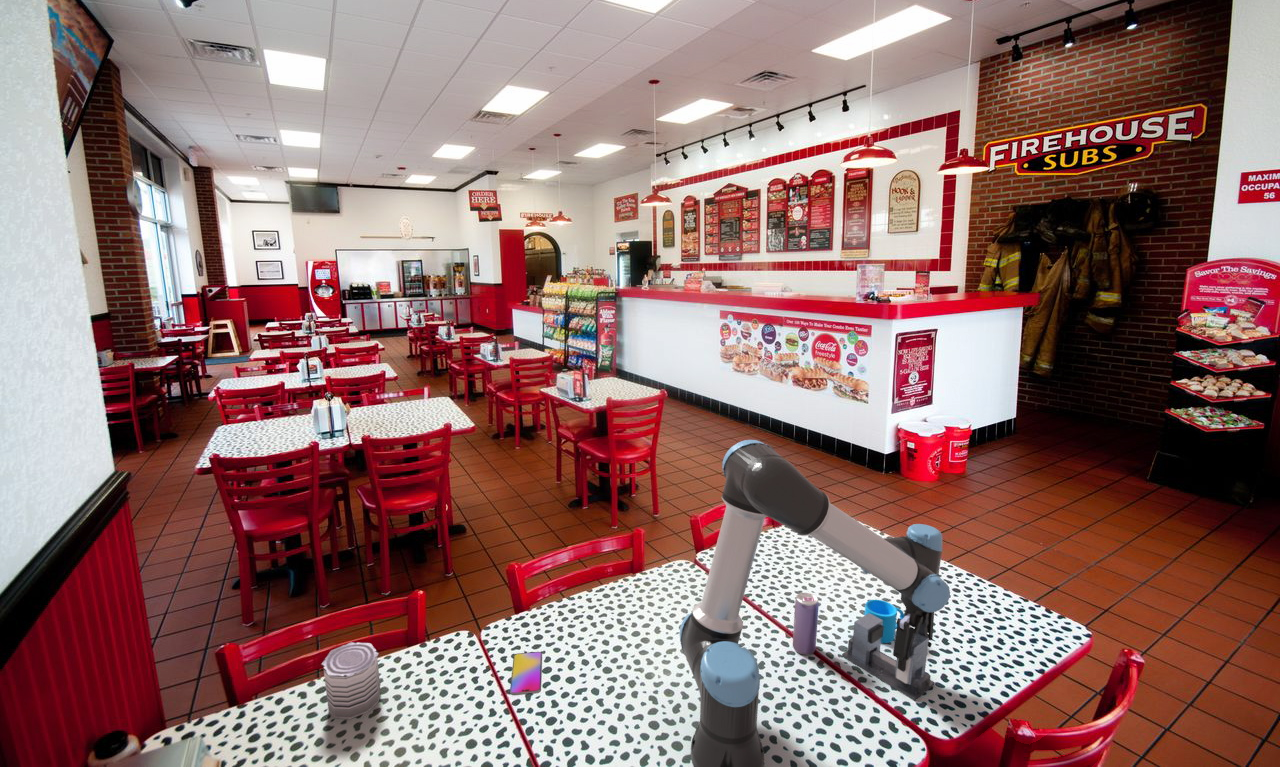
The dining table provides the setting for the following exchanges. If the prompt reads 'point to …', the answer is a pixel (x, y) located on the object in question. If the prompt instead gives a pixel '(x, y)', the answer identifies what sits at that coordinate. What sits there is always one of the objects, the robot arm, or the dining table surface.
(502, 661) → the dining table surface
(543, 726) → the dining table surface
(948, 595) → the robot arm
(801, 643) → the beverage can
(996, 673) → the dining table surface
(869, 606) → the mug
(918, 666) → the stepped metal block
